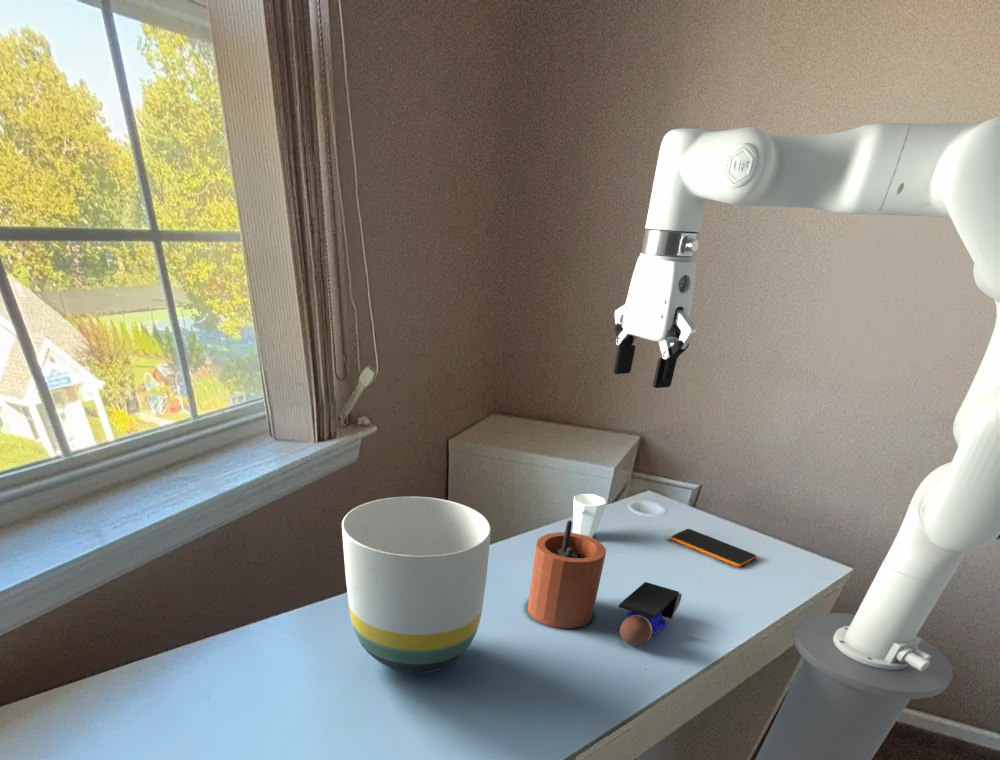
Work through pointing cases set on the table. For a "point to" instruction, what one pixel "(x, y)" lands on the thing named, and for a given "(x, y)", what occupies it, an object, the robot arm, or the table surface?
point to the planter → (415, 579)
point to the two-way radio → (565, 550)
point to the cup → (587, 513)
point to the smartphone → (713, 547)
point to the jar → (565, 580)
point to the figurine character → (647, 612)
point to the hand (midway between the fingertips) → (640, 379)
